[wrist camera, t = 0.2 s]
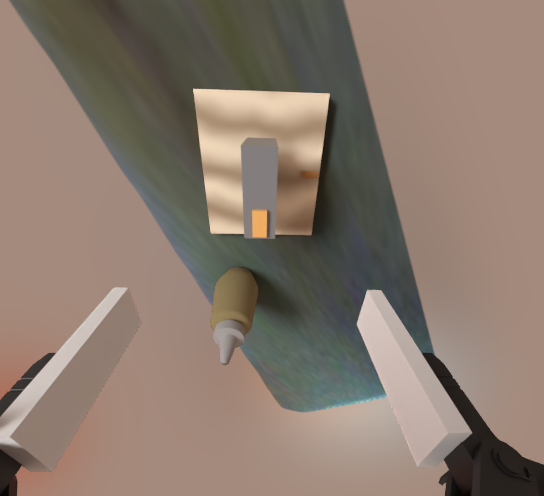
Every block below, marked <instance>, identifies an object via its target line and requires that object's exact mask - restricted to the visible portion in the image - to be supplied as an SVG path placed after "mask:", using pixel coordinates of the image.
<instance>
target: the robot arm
mask: <svg viewBox="0 0 544 496" xmlns="http://www.w3.org/2000/svg"><path fill="white" fill-rule="evenodd" d="M140 325H141V320H140V318H139V315H138V312H137V309H136V307H135V304H134V302H133V299H132V296H131V293H130V291H129V288H113V289H112V290H111V291H110V293H109V294H108V295H107V296H106V297H105V298H104V299H103V301H102V302H101V303H100V304H99V305H98V306H97V307H96V309H95V310H94V311H93V312H92V313H91V314H90V315H89V317H88V318H87V319H86V320H85V321H84V322H83V324H82V325H81V326H80V327H79V328H78V329H77V330H76V331H75V332H74V334H73V335H72V336H71V337H70V338H69V339H68V340H67V342H66V343H65V344H64V345H63V346H62V347H61V348H60V350H59V351H58V352H57V353H48V354H47V355H45V356H44V357H43V358H41V359H40V360H39V361H37V362H36V363H35V364H33V365H32V366H31V367H30V369H29V370H28V371H27V372H26V373H25V374H24V375H23V376H22V377H21V380H19V381H17V382H16V384H15V385H14V386H13V387H12V388H11V390H10V391H9V392H7V393H6V394H5V395H4V396H3V398H2V399H1V400H0V496H17V478H16V476H15V474H16V473H17V471H18V470H19V469H20V467H21V466H23V467H25V468H26V469H27V470H29V471H31V472H49V471H50V472H51V471H53V470H54V469H55V467H56V465H57V463H58V462H59V460H60V459H61V457H62V455H63V454H64V452H65V450H66V449H67V447H68V445H69V444H70V442H71V440H72V439H73V437H74V435H75V433H76V432H77V430H78V428H79V427H80V425H81V423H82V422H83V420H84V418H85V417H86V415H87V414H88V412H89V410H90V408H91V407H92V405H93V403H94V402H95V400H96V398H97V397H98V395H99V393H100V392H101V390H102V388H103V387H104V385H105V383H106V382H107V380H108V378H109V377H110V375H111V373H112V371H113V370H114V368H115V366H116V365H117V363H118V362H119V360H120V358H121V357H122V355H123V353H124V352H125V350H126V348H127V347H128V345H129V343H130V342H131V340H132V338H133V337H134V335H135V333H136V332H137V330H138V328H139V326H140ZM357 326H358V328H359V331H360V333H361V335H362V338H363V340H364V342H365V345H366V347H367V350H368V352H369V354H370V357H371V359H372V361H373V364H374V366H375V368H376V371H377V373H378V375H379V378H380V380H381V383H382V385H383V387H384V390H385V392H386V394H387V397H388V399H389V401H390V404H391V406H392V409H393V411H394V413H395V415H396V418H397V420H398V422H399V425H400V427H401V430H402V432H403V434H404V437H405V439H406V441H407V444H408V446H409V449H410V451H411V453H412V456H413V458H414V460H415V463H416V465H417V467H418V466H438V465H439V464H440V463H441V462H442V461H443V460H444V461H445V463H446V464H447V466H448V468H449V471H447V472H446V473H445V474H444V475H443V476H442V477H441V478H440V481H439V483H440V484H441V485H443V484H444V483H446V491H445V496H544V465H543V464H540V463H537V462H534V461H531V460H529V459H526V458H524V457H522V456H521V455H520V454H519V453H518V452H517V451H516V450H515V449H513V448H512V447H510V446H509V445H508V444H507V443H505V442H502V441H500V440H499V439H498V438H497V437H496V436H495V435H494V434H493V433H492V431H491V430H490V429H489V427H488V426H487V425H486V423H485V422H484V420H483V419H482V417H481V416H480V415H479V413H478V412H477V410H476V409H475V408H474V406H473V405H472V403H471V402H470V400H469V399H468V398H467V396H466V395H465V393H464V392H463V390H461V389H460V386H459V385H458V383H457V382H456V380H455V379H453V377H452V375H451V373H450V372H449V371H448V369H447V368H446V366H445V365H444V364H443V363H442V362H441V361H440V360H439V359H438V358H437V357H436V356H435V355H433V354H432V353H421V352H420V350H419V349H418V347H417V346H416V344H415V343H414V341H413V339H412V338H411V336H410V335H409V333H408V332H407V330H406V328H405V327H404V325H403V324H402V322H401V321H400V319H399V318H398V316H397V314H396V313H395V311H394V310H393V308H392V307H391V305H390V304H389V302H388V300H387V299H386V297H385V296H384V294H383V293H382V291H381V290H367V293H366V296H365V299H364V302H363V306H362V309H361V312H360V315H359V318H358V322H357Z"/></svg>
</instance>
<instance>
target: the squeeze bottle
mask: <svg viewBox="0 0 544 496" xmlns="http://www.w3.org/2000/svg"><path fill="white" fill-rule="evenodd" d="M257 297H258V286H257V284H256V281H255V279H254V277H253V275H252V273H251V272H250V271H249V270H248V269H246V268H243V267H233V268H230V269H229V270H228V271H226V272H225V273H224V274H223V276H222V277H221V278H220V279H219V280H218V281H217V284H216V286H215V292H214V299H213V306H212V314H211V320H210V323H211V328H212V329H213V330H214V334H213V340H214V342H215V343H216V344H217V345H219V346H220V363H221V364H223V365H227V364H229V362H230V359H231V357H232V354H233V351H234V349H235V348H236V347H239V346H240V345H242V344H243V342H244V339H245V334H247V333H248V332H249V331H250V329H251V327H252V322H253V317H254V312H255V307H256V302H257Z"/></svg>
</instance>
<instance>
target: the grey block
mask: <svg viewBox="0 0 544 496" xmlns="http://www.w3.org/2000/svg"><path fill="white" fill-rule="evenodd" d="M278 149H279V146H278V143H277V140H276V138H250V137H247V138H246V139H245V141H244V142H243V143H242V144H241V165H242V191H243V217H244V238H260V239H275V226H276V200H277V174H278Z"/></svg>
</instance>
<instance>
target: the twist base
mask: <svg viewBox="0 0 544 496" xmlns="http://www.w3.org/2000/svg"><path fill="white" fill-rule="evenodd" d="M193 91H194V99H195V107H196V115H197V123H198V132H199V140H200V148H201V156H202V164H203V173H204V181H205V189H206V197H207V205H208V214H209V222H210V230H211V233H219V234H244V217H243V191H242V165H241V144H242V143H243V142H244V141H245V139H246V138H247V137H250V138H276V140H277V143H278V146H279V149H278V174H277V200H276V226H275V234H280V235H312V227H313V219H314V211H315V204H316V196H317V188H318V181H319V173H320V165H321V158H322V150H323V142H324V135H325V127H326V119H327V111H328V104H329V96H330V94H325V93H297V92H268V91H239V90H210V89H193Z"/></svg>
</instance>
